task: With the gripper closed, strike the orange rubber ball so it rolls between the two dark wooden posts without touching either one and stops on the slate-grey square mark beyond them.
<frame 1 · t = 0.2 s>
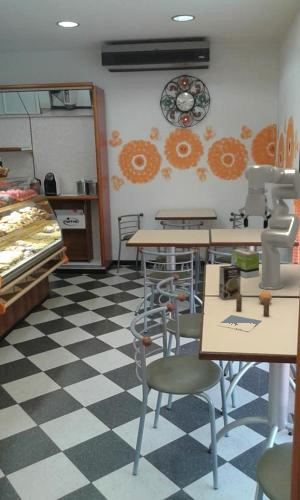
hand: (255, 227, 204), 36 cm above the table, tool pointing down, fingers open, 9 cm apart
post 2: (266, 315, 188), on the table
coffee box: (229, 297, 215), on the table
post 1: (238, 310, 195), on the table
tea box: (244, 275, 257), on the table
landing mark: (239, 323, 180), on the table
ball: (265, 297, 204), on the table
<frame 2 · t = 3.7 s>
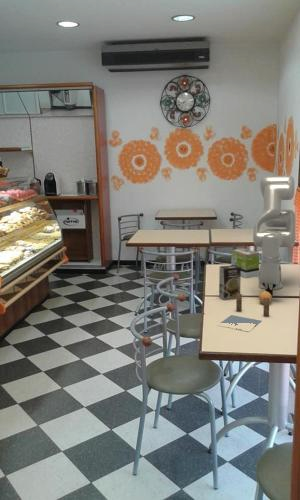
hand: (269, 296, 207), 2 cm above the table, tool pointing down, fingers closed
ball: (265, 297, 203), on the table, touching gripper
everything else where it was.
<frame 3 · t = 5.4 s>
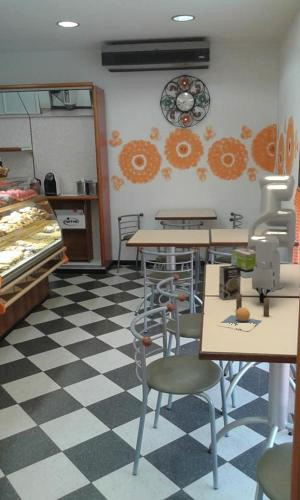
hand: (262, 302, 201), 2 cm above the table, tool pointing down, fingers closed
ball: (242, 314, 182), on the table
everything else where it was.
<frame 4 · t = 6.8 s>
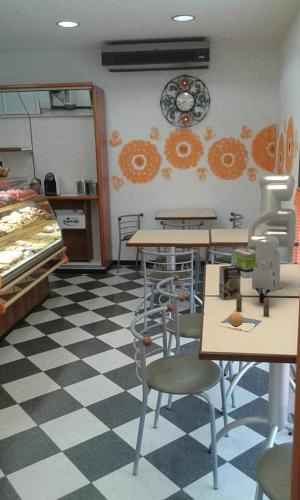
hand: (262, 302, 201), 2 cm above the table, tool pointing down, fingers closed
ball: (236, 319, 177), on the table
everything else where it was.
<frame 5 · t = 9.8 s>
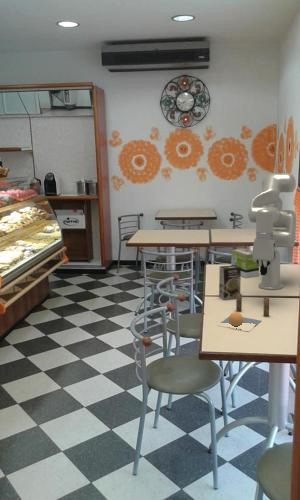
hand: (263, 274, 199), 15 cm above the table, tool pointing down, fingers closed
nothing on the table moved.
at the end: ball 3.8 cm from the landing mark (horizontally); ball never touched post 2; ball never touched post 1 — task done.
